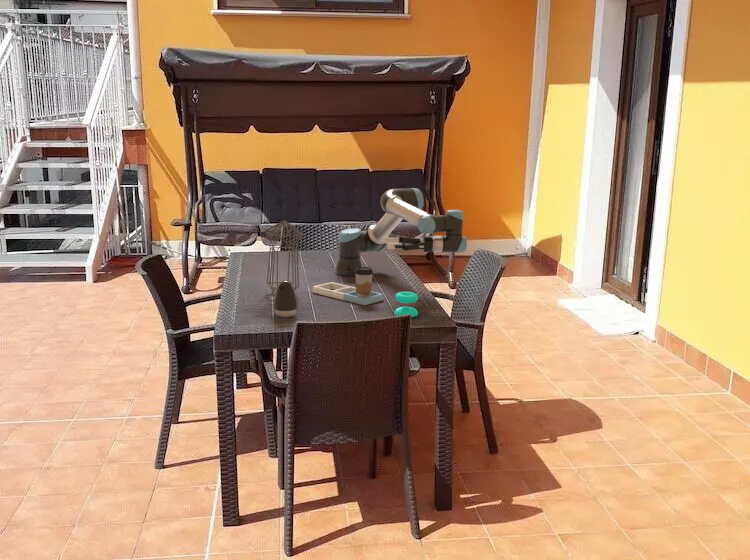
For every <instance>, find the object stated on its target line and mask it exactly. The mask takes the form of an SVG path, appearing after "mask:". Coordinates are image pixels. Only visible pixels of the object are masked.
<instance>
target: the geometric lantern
mask: <svg viewBox="0 0 750 560" xmlns="http://www.w3.org/2000/svg"><path fill="white" fill-rule="evenodd" d="M288 228H289V229H288ZM281 229H282V231H281ZM285 229H286V230H285ZM263 232H264V233H265V235H266V237H267V240H268V243H269V245H271V246H269V251H268V252H269V254H268V266H267V277H266V285H267V286H268V287H269V288H270V289H271V295H272V296H274V297H275V293H276V290H277V288H278V286H279V284H280V283H281V282H282V281H279V253H288V262H287V263H288V265H287V280H286V281H288V282H290V283H291V285H292V286H293V285H294V286H293V288H294V291H296V290H297V289H298V288H299V287H300V281H299V280H300V279H299V278H300V277H299V253H298V252H299V250H298V248H297V247H298V244H297V243H298V242H300V241H301V239H302V238H303V237H304V236H305V234H304V233H303V232H301V231H300V230H299V229H298V228H296V227H295V226H294V225H292V224H291V222H290V223H289V222H288V221H286V220H282V221H280V222H278V223H276V224H275V225H273V226H271V227H269V228H267V229H265V230H264V231H263ZM292 232H294V234H295V235H294V234H293V235H291V233H292ZM279 233H280V234H279ZM281 233H282V234H281ZM286 233H287V234H286ZM273 237H276V238H275V240H274V243H273V241H272V239H273ZM285 238H289V240H286V239H285ZM291 238H293V239H291ZM278 239H279V240H281V242H282V243H281V244H280V245H279V247H278V246H277V247H275V244H276V242H277V240H278ZM293 241H294V243H293ZM289 243H290V245H291V246H290V245H289ZM283 244H286V245H287V246H282V245H283ZM295 245H296V247H295ZM284 248H285V249H288V250H282V251H281V250H279V249H284ZM275 259H276V261H275ZM290 260H291V261H290ZM275 262H276V281H274V274H275V273H274V272H275ZM290 263H291V264H292V265H291V271H292V273H291V275H292V281H289V278H290ZM274 284H276V287H274Z"/></svg>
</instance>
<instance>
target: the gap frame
mask: <svg viewBox="0 0 750 560" xmlns="http://www.w3.org/2000/svg"><path fill="white" fill-rule="evenodd" d="M313 292H314V294H317V293H318V294H317V295H322V296H326V297H329V298H333V299H334V298H335V299H338V300H341V301H342V300H343V301H346V302H349V303H354V304H357V305H362V306H367V305H370V304H375V303H378V302H382V301H384V294H383V293H380V292H376V291H372V290H371V297H367V298H362V297H358V296H356V286H350V285H345V284H342V283H338V282H333V281H331V282H327V283H323V284H318V285H313V286H312V293H313Z"/></svg>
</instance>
